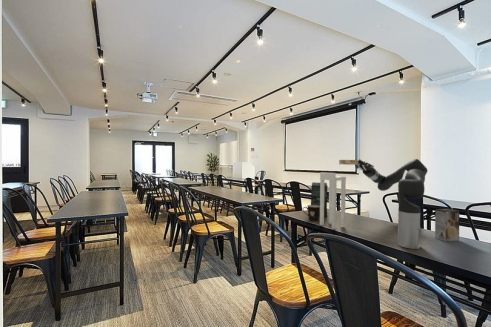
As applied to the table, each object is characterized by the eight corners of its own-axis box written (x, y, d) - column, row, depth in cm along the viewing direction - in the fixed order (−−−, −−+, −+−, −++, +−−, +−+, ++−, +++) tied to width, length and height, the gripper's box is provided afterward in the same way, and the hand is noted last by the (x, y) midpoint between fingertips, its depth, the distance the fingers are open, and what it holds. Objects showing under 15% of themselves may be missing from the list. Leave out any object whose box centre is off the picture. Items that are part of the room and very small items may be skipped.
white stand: (345, 227, 160) (345, 173, 160) (333, 229, 156) (334, 173, 155) (330, 223, 171) (331, 172, 170) (319, 224, 166) (320, 172, 166)
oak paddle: (369, 164, 173) (369, 159, 173) (350, 164, 164) (350, 159, 164) (358, 164, 181) (358, 159, 181) (339, 164, 172) (339, 159, 172)
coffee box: (447, 237, 142) (448, 208, 142) (459, 240, 136) (460, 210, 136) (434, 238, 140) (434, 209, 140) (445, 241, 134) (446, 211, 134)
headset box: (327, 217, 187) (327, 182, 186) (310, 216, 190) (311, 182, 190) (326, 211, 208) (326, 180, 208) (311, 210, 212) (311, 180, 211)
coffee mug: (322, 220, 178) (322, 206, 178) (314, 222, 173) (314, 207, 173) (309, 217, 187) (309, 204, 187) (301, 218, 183) (301, 205, 182)
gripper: (378, 178, 174) (364, 165, 166) (360, 176, 186) (346, 165, 179) (381, 168, 175) (367, 155, 168) (364, 167, 188) (350, 155, 180)
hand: (357, 160), depth 173 cm, fingers closed on oak paddle, 2 cm apart
